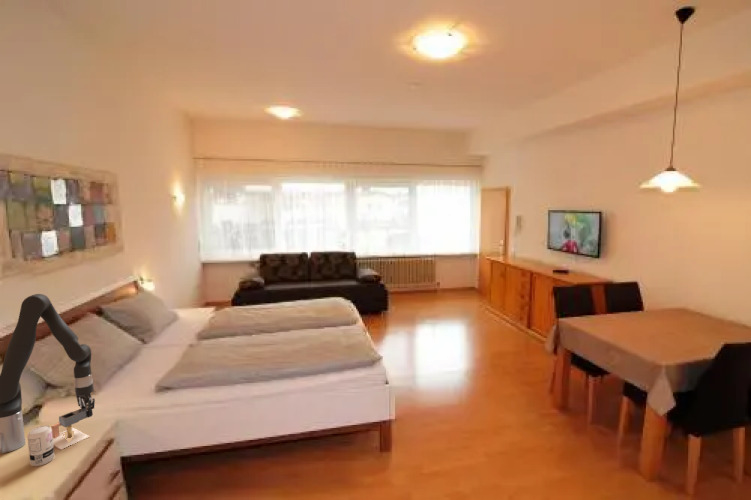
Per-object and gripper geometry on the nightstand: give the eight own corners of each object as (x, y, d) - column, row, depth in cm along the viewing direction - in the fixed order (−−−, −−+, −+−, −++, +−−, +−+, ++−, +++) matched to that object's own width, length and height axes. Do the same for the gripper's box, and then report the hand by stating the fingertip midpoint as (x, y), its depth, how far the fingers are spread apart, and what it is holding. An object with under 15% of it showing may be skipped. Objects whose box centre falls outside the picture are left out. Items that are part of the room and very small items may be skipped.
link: (65, 427, 187) (64, 419, 186) (59, 424, 190) (58, 416, 189) (93, 415, 198) (92, 408, 197) (87, 412, 200) (86, 405, 200)
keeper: (55, 438, 190) (54, 426, 190) (52, 438, 191) (51, 425, 190) (75, 427, 200) (74, 416, 200) (73, 427, 201) (72, 415, 200)
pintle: (68, 439, 190) (67, 424, 189) (66, 438, 191) (65, 423, 190) (73, 437, 192) (71, 422, 191) (71, 436, 192) (70, 421, 192)
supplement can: (29, 461, 172) (26, 430, 171) (53, 453, 179) (50, 422, 177) (31, 469, 167) (28, 437, 166) (55, 460, 173) (52, 429, 172)
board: (61, 450, 181) (61, 449, 181) (44, 440, 190) (44, 439, 189) (89, 437, 191) (89, 436, 191) (72, 428, 200) (72, 427, 200)
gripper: (68, 384, 196) (71, 415, 198) (82, 389, 189) (85, 422, 191) (85, 378, 203) (88, 409, 204) (99, 383, 196) (102, 415, 197)
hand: (87, 415), depth 198 cm, fingers closed on link, 4 cm apart
